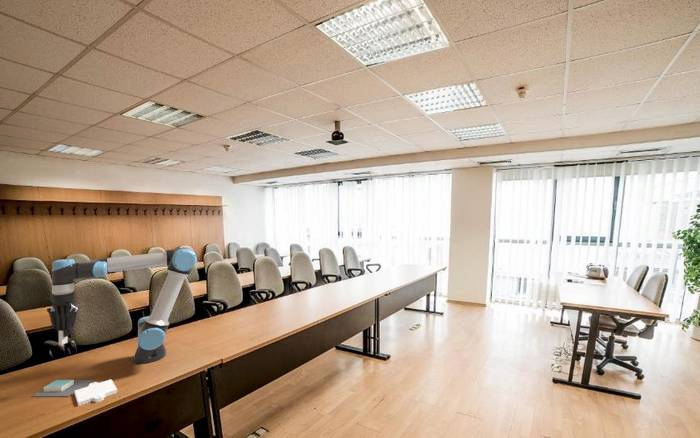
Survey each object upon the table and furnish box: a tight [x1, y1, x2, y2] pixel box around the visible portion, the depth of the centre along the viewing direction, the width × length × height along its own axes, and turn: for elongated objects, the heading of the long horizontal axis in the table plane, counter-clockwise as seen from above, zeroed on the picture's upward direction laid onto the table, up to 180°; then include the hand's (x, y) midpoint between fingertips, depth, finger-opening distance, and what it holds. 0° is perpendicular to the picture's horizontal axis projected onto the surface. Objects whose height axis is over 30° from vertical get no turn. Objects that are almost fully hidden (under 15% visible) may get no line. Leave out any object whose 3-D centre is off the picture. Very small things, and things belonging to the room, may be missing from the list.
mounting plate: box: [73, 378, 118, 407], centre depth 132 cm, size 18×13×2 cm
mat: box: [31, 379, 95, 398], centre depth 136 cm, size 16×13×1 cm
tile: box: [43, 379, 75, 392], centre depth 136 cm, size 2×6×8 cm
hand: (63, 343), depth 136 cm, fingers closed
